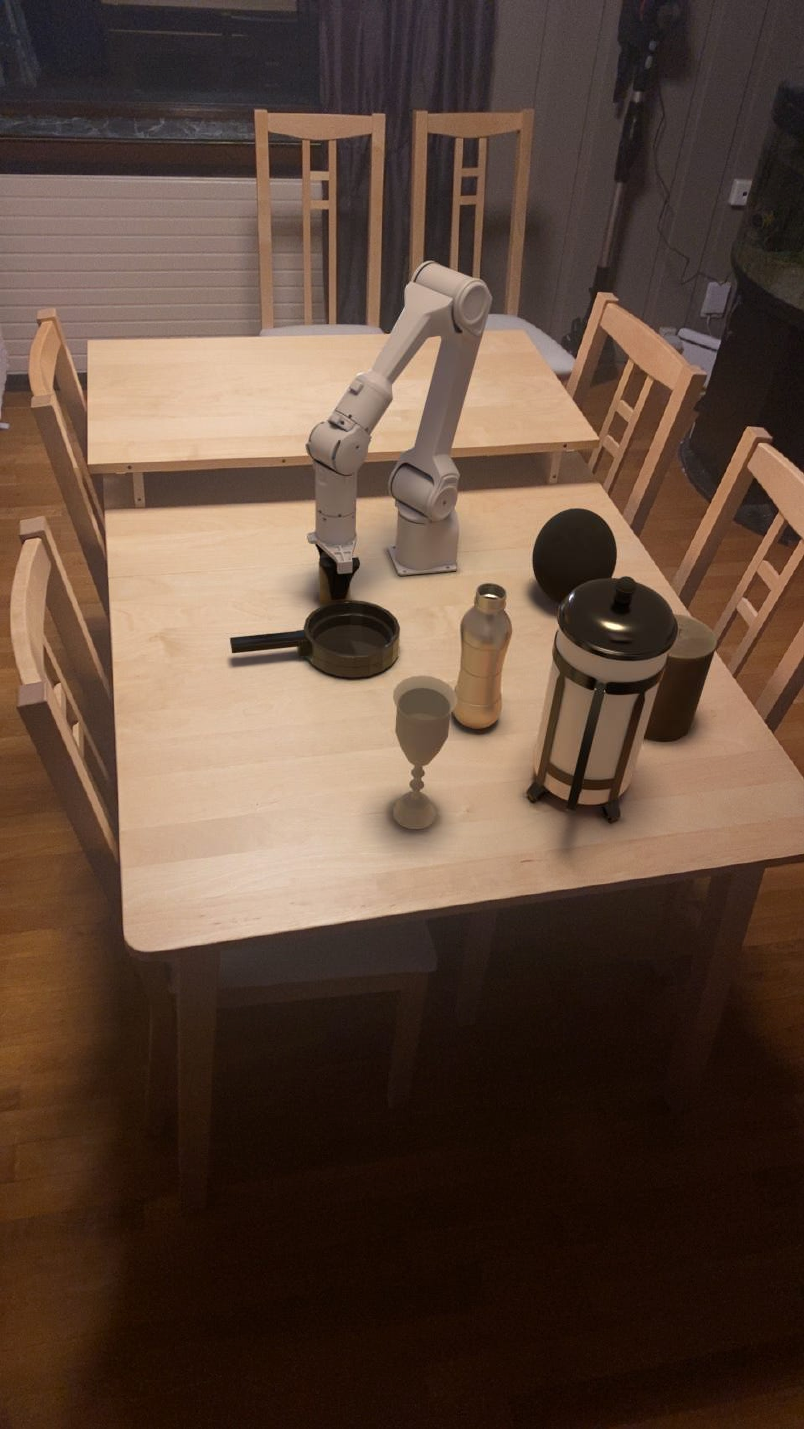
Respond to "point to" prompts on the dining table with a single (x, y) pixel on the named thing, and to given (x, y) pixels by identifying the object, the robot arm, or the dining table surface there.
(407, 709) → the chalice
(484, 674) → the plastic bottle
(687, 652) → the pillar candle
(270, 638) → the skillet handle
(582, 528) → the decorative egg
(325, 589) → the salt shaker
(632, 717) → the coffee press
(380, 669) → the skillet
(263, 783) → the dining table surface
